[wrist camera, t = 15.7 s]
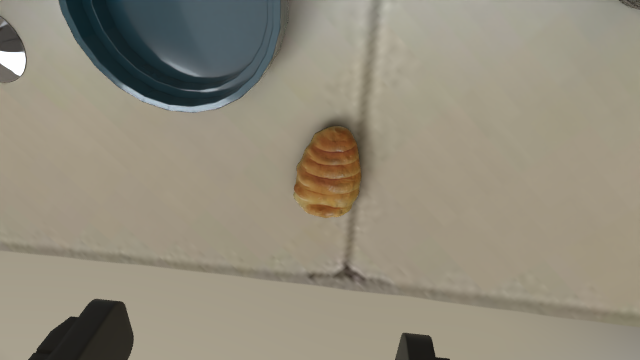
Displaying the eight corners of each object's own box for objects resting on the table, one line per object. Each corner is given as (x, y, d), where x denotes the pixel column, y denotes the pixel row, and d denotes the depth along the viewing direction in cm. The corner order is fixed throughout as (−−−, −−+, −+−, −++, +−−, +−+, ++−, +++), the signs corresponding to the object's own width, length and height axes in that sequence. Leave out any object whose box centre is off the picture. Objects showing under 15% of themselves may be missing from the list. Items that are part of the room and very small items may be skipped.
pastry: (303, 117, 38) (298, 133, 34) (371, 127, 38) (373, 144, 34) (293, 196, 42) (289, 217, 39) (354, 205, 42) (354, 227, 39)
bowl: (291, -122, 28) (282, -134, 24) (287, 103, 37) (279, 120, 33) (63, -138, 29) (18, -152, 25) (112, 87, 38) (84, 103, 34)
